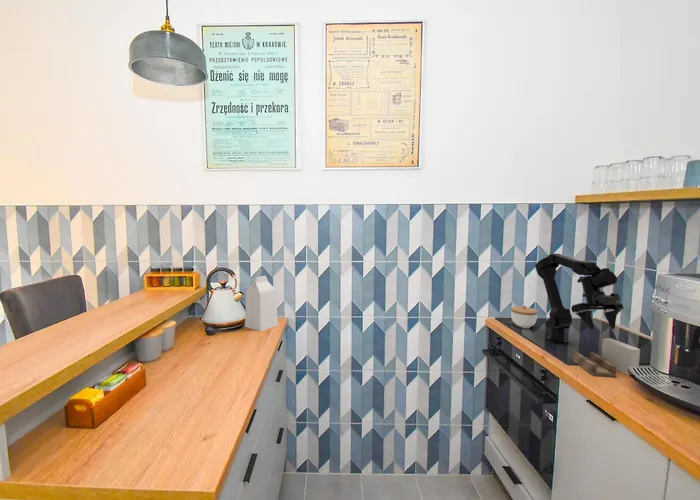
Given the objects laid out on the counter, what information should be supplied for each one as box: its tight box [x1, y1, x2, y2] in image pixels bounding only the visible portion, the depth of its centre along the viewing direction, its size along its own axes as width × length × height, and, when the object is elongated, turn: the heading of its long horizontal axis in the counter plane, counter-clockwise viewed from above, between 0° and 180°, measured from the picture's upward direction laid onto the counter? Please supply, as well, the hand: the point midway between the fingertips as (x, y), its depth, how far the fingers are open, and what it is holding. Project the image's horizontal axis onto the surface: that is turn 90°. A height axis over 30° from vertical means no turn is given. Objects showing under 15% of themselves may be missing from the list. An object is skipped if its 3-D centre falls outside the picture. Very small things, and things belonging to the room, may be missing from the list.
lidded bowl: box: [510, 305, 539, 329], centre depth 185 cm, size 13×13×11 cm
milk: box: [244, 275, 279, 332], centre depth 179 cm, size 12×12×26 cm
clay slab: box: [600, 337, 641, 377], centre depth 132 cm, size 12×4×10 cm, turn 10°
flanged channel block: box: [571, 350, 617, 378], centre depth 133 cm, size 15×8×4 cm, turn 173°
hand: (602, 329), depth 138 cm, fingers open, 9 cm apart
